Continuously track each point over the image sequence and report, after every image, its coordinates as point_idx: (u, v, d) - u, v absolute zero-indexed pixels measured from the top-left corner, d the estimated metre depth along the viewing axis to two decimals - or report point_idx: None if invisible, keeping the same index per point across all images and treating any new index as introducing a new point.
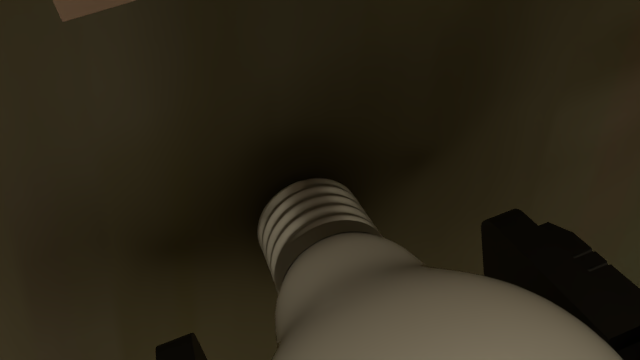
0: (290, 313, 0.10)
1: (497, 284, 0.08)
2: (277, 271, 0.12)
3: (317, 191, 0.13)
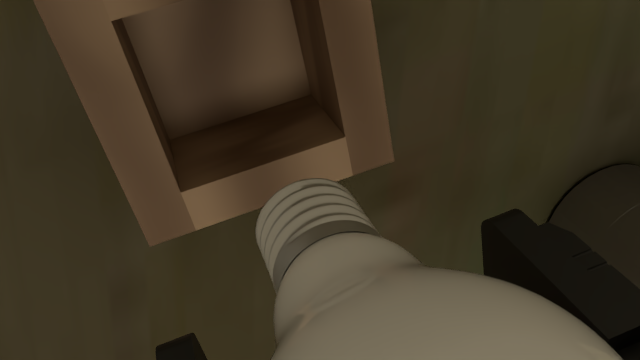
0: (289, 313, 0.10)
1: (496, 283, 0.08)
2: (275, 271, 0.12)
3: (315, 191, 0.13)
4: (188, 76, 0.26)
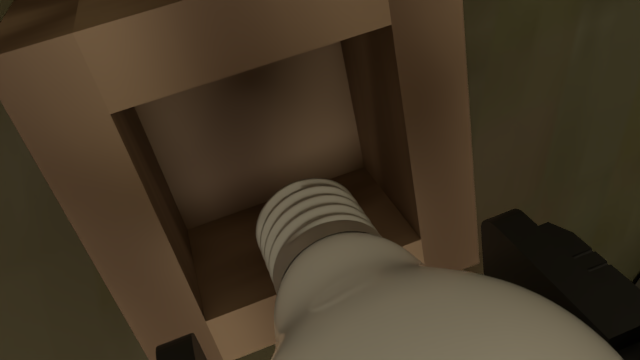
0: (289, 313, 0.10)
1: (496, 283, 0.08)
2: (276, 271, 0.12)
3: (315, 191, 0.13)
4: (211, 153, 0.20)
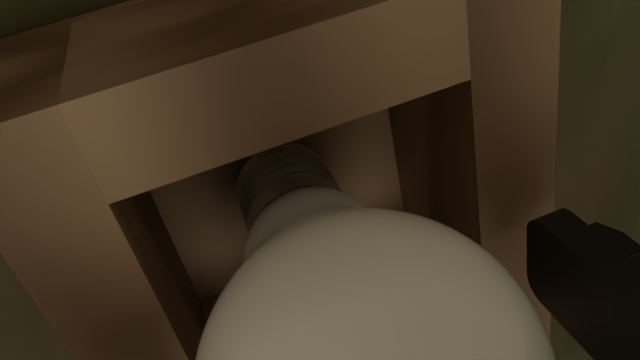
0: (252, 248, 0.12)
1: (412, 215, 0.10)
2: (249, 220, 0.14)
3: (288, 153, 0.15)
4: (229, 214, 0.17)
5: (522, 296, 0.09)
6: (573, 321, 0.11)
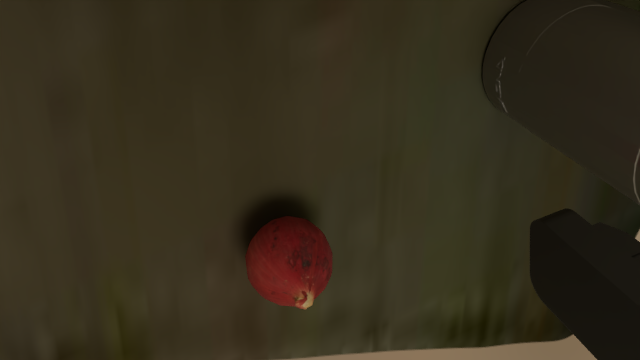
0: None
1: None
2: None
3: None
4: None
5: None
6: (577, 321, 0.11)
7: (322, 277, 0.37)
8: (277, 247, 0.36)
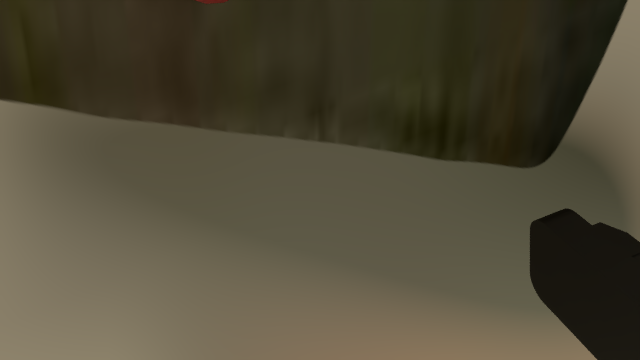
0: None
1: None
2: None
3: None
4: None
5: None
6: (577, 322, 0.11)
7: None
8: None
